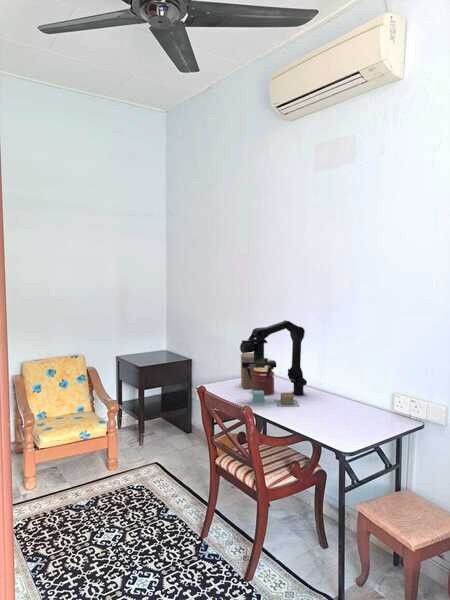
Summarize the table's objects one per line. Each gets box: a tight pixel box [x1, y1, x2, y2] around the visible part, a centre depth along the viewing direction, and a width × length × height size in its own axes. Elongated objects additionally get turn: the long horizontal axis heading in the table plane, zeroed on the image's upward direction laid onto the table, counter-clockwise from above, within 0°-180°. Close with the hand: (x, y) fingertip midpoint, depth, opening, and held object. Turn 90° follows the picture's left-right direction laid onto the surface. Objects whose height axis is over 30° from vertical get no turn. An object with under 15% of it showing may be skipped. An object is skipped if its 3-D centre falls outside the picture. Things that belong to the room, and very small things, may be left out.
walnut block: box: [280, 391, 294, 405], centre depth 236 cm, size 6×6×5 cm
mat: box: [274, 399, 301, 408], centre depth 236 cm, size 12×12×1 cm
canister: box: [251, 366, 275, 396], centre depth 257 cm, size 13×13×18 cm
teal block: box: [252, 391, 265, 403], centre depth 242 cm, size 6×6×5 cm
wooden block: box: [240, 352, 255, 390], centre depth 269 cm, size 10×10×20 cm
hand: (258, 379), depth 241 cm, fingers open, 9 cm apart
